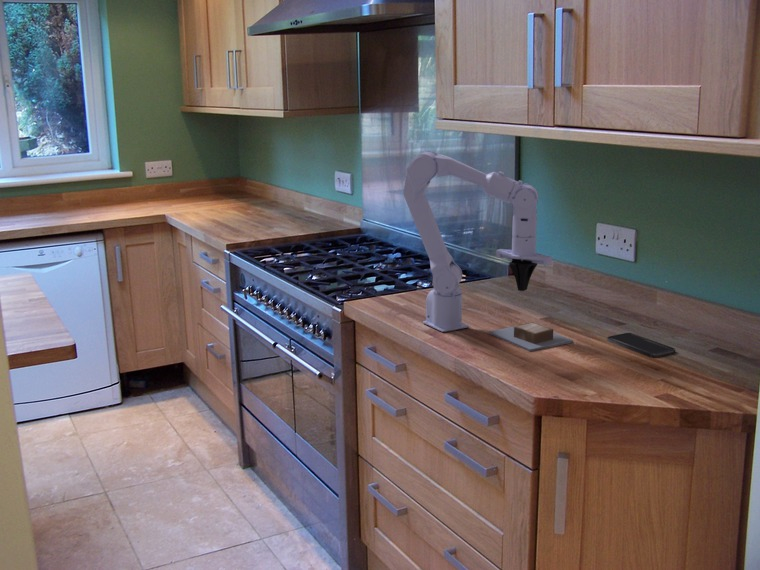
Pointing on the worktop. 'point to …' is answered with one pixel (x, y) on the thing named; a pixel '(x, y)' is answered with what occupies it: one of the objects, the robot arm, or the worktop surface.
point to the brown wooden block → (533, 333)
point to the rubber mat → (508, 336)
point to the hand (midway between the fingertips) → (522, 290)
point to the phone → (641, 345)
